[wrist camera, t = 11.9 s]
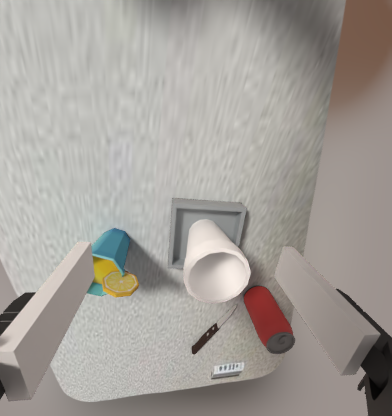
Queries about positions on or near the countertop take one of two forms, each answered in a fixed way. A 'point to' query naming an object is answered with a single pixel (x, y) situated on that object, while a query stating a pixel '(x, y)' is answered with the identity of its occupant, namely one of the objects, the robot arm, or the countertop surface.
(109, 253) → the cup
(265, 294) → the beer can
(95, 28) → the countertop surface
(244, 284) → the foam cup
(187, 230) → the tray
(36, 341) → the robot arm
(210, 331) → the kitchen knife
